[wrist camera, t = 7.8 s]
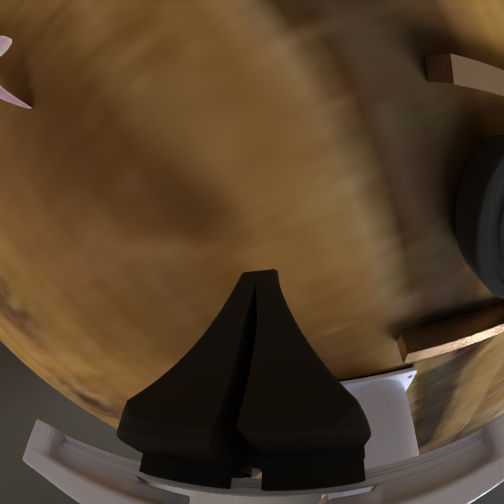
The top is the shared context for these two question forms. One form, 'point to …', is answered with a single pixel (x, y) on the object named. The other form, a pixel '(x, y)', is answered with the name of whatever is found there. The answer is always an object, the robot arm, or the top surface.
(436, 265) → the top surface
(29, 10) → the top surface
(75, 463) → the robot arm
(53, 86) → the top surface
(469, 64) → the motor mount
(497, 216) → the caster wheel
